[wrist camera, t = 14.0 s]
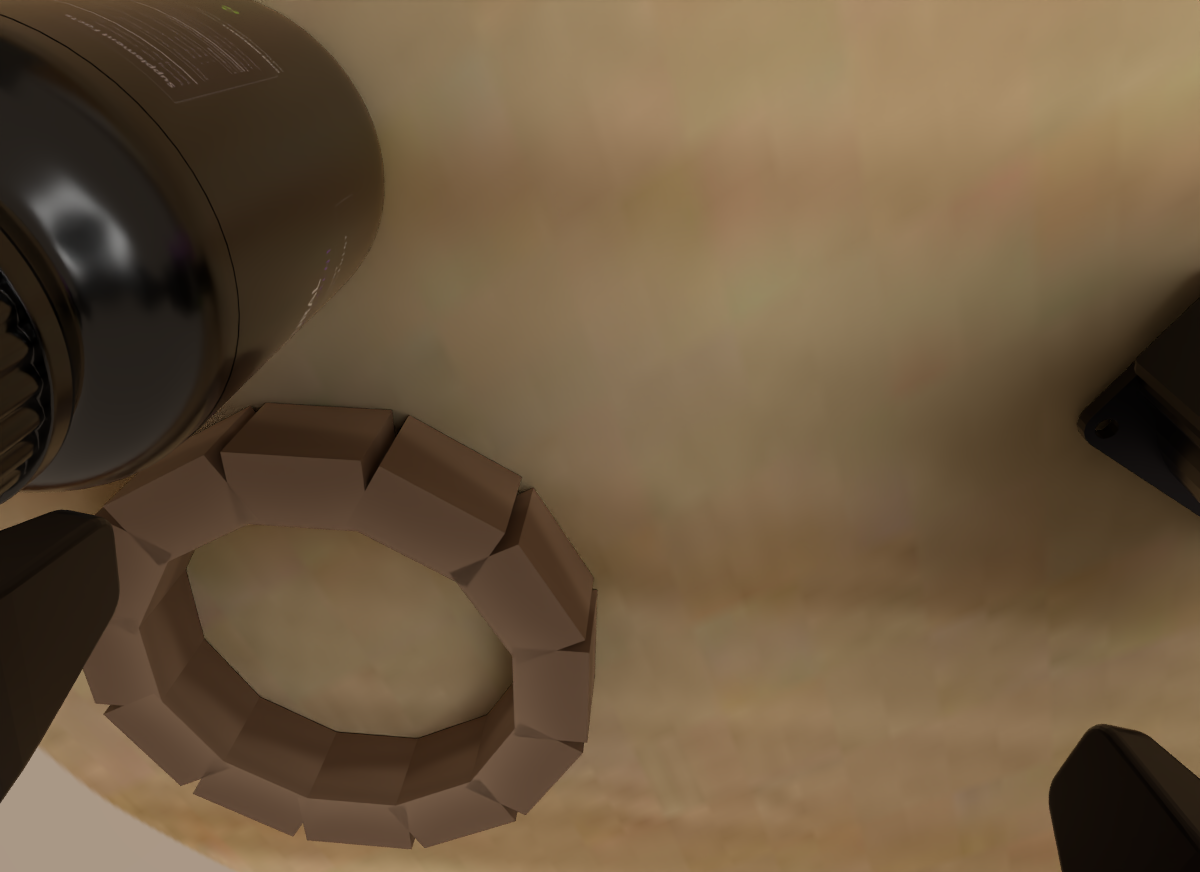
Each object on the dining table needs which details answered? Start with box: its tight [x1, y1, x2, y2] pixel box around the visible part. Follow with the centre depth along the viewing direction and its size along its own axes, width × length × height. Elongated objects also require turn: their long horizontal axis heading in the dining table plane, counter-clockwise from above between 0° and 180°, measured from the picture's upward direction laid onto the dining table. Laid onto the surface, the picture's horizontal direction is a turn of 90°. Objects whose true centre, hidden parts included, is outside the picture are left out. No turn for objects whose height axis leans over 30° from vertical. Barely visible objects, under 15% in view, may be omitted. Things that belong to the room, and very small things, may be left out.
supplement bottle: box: [0, 0, 384, 504], centre depth 14 cm, size 7×7×12 cm
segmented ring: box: [83, 403, 597, 849], centre depth 24 cm, size 14×14×2 cm
